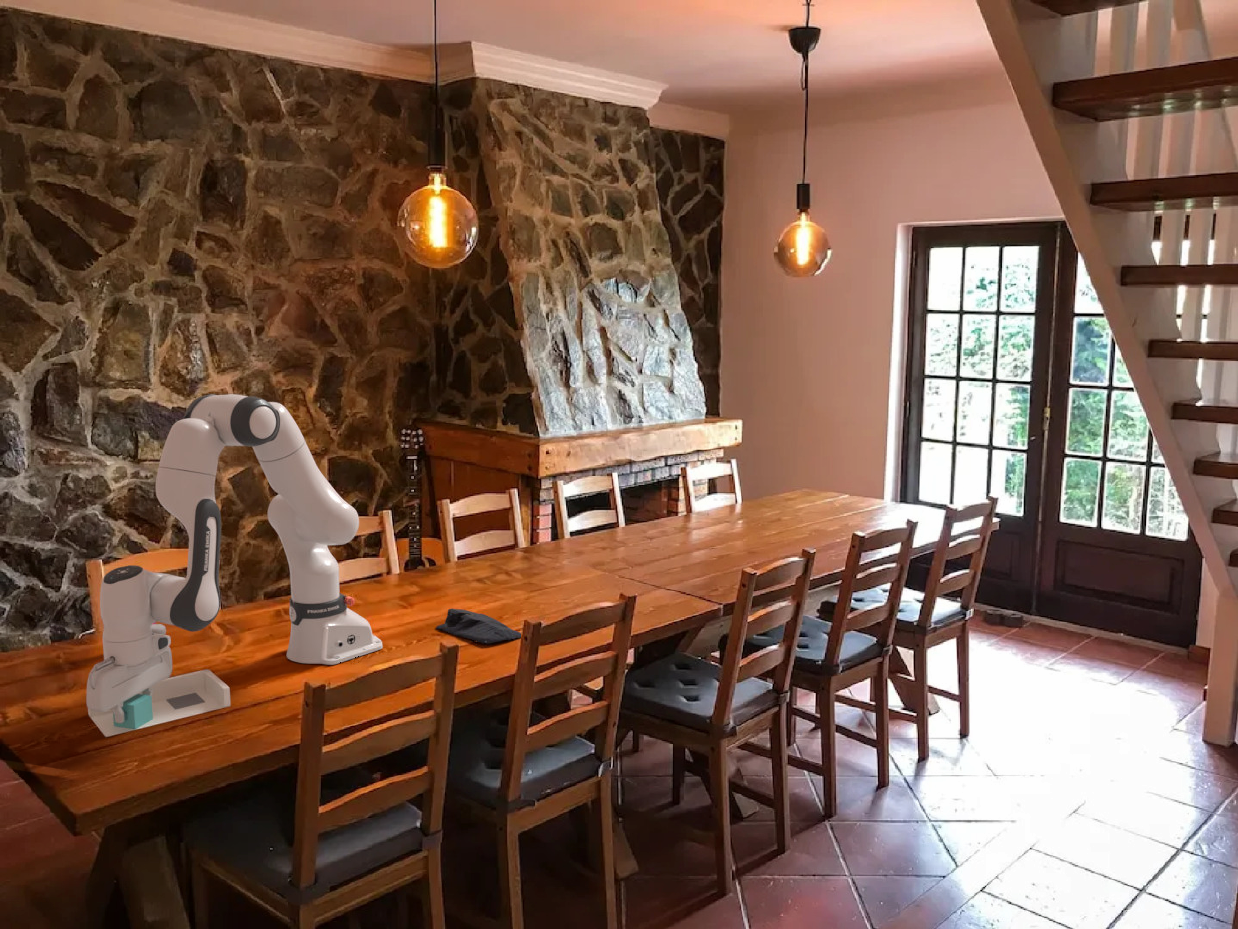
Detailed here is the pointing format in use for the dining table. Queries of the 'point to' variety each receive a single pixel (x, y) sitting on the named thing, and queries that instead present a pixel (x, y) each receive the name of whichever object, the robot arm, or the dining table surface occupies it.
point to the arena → (175, 700)
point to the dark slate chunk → (477, 627)
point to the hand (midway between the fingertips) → (133, 715)
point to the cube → (136, 711)
